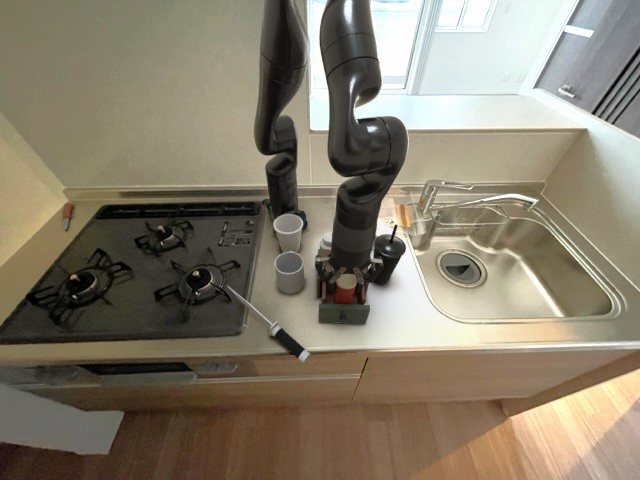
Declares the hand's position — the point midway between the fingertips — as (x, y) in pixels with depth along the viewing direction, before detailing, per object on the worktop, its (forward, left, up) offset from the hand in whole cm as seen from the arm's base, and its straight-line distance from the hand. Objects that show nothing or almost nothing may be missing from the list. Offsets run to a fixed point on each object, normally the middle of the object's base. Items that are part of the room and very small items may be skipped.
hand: (344, 289), depth 58 cm
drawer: (0, 0, -9) cm, 9 cm away
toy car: (-34, +5, -6) cm, 35 cm away
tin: (0, 0, -8) cm, 8 cm away
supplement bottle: (-15, +8, -10) cm, 20 cm away
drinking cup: (-1, +15, -10) cm, 18 cm away
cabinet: (-7, +5, -10) cm, 13 cm away
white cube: (-11, +25, -10) cm, 29 cm away
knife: (-8, -17, -9) cm, 21 cm away
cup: (-16, -5, -10) cm, 19 cm away
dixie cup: (-26, +1, -10) cm, 28 cm away
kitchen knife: (-81, -52, -9) cm, 96 cm away
